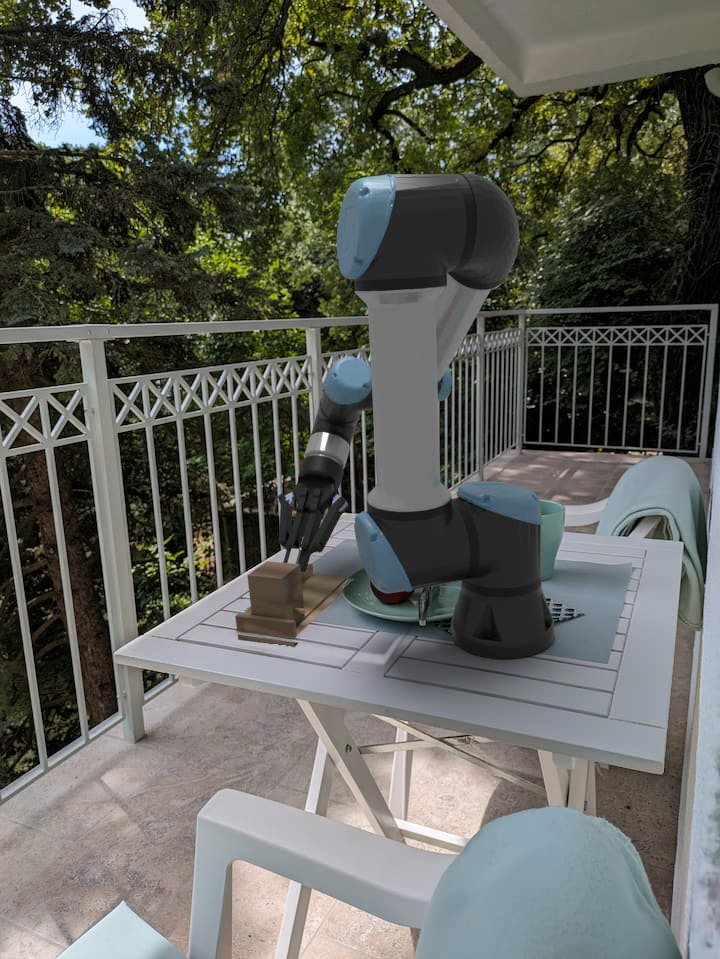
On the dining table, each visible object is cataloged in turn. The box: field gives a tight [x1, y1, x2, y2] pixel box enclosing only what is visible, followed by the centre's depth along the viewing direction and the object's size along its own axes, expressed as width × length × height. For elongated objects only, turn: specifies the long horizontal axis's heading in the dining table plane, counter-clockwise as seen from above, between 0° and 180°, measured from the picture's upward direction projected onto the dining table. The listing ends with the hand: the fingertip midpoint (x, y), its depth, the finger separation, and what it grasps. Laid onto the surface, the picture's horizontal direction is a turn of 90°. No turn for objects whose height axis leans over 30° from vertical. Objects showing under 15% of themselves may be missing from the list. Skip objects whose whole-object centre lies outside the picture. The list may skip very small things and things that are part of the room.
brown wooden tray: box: [234, 563, 349, 648], centre depth 123 cm, size 24×10×4 cm, turn 157°
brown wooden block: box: [247, 560, 305, 625], centre depth 115 cm, size 6×8×9 cm
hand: (288, 588), depth 119 cm, fingers closed
